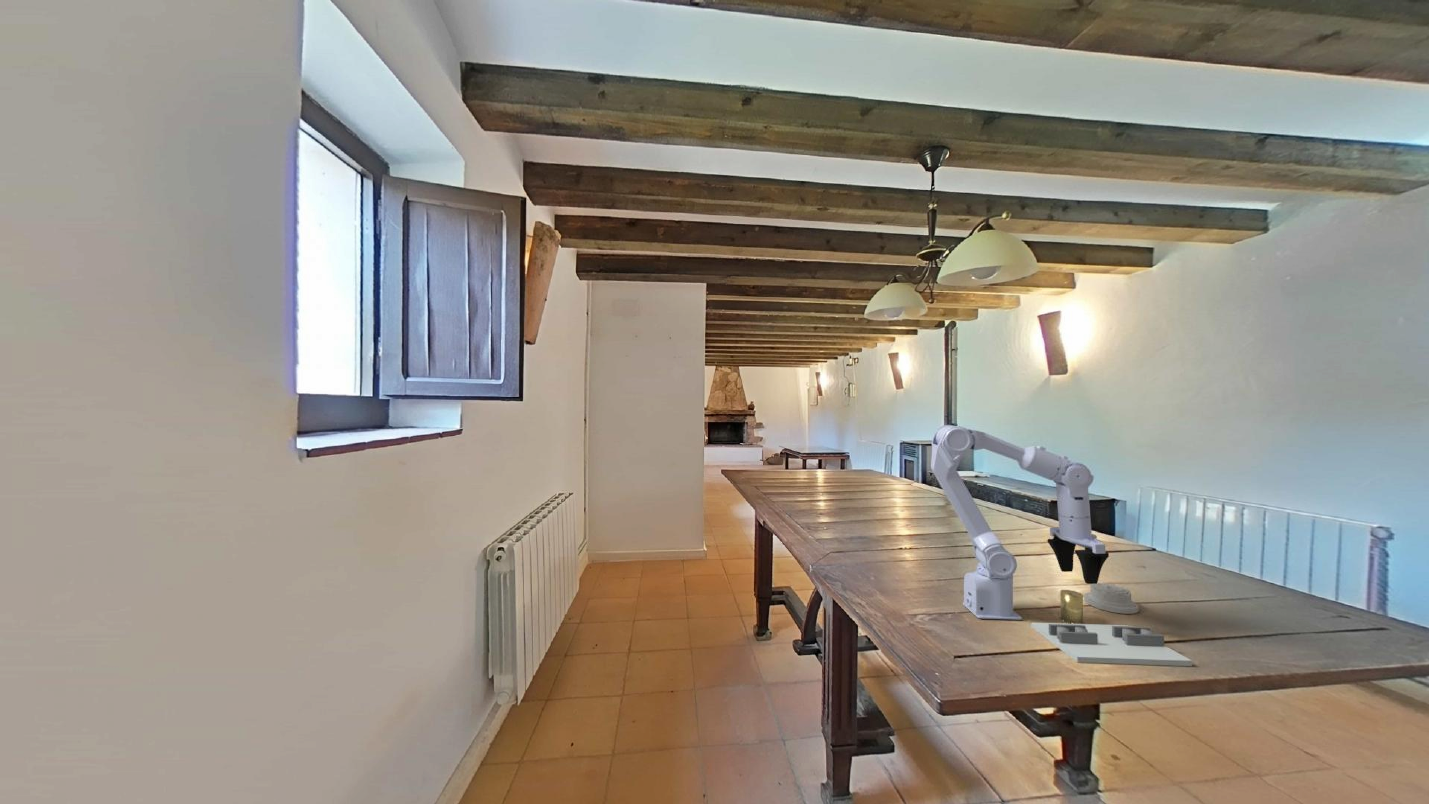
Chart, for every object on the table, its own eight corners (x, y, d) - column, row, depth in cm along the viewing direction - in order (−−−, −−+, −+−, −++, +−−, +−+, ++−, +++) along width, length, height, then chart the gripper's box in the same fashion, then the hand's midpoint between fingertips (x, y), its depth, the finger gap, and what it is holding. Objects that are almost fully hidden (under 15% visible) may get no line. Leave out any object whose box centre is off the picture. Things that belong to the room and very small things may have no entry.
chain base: (1077, 662, 87) (1077, 646, 87) (1031, 627, 101) (1031, 613, 101) (1191, 666, 86) (1191, 649, 86) (1129, 630, 100) (1129, 615, 100)
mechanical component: (1150, 616, 107) (1117, 598, 117) (1150, 596, 107) (1117, 580, 117) (1103, 614, 108) (1074, 597, 118) (1102, 595, 108) (1074, 579, 118)
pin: (1068, 624, 103) (1068, 596, 103) (1056, 616, 107) (1056, 589, 107) (1087, 624, 102) (1087, 597, 103) (1074, 616, 106) (1074, 590, 107)
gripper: (1118, 522, 97) (1123, 588, 97) (1070, 508, 112) (1074, 565, 112) (1083, 523, 98) (1088, 589, 97) (1039, 509, 112) (1043, 566, 112)
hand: (1078, 577), depth 105 cm, fingers open, 7 cm apart
